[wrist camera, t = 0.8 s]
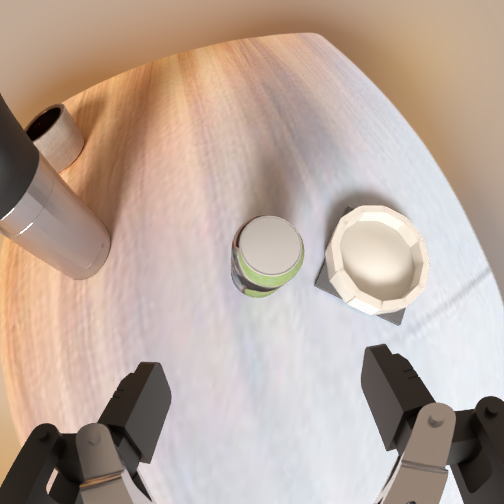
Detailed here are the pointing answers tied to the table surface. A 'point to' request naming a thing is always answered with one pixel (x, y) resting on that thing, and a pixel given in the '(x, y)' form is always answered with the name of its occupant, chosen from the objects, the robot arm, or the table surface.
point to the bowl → (377, 260)
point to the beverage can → (265, 255)
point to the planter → (56, 136)
